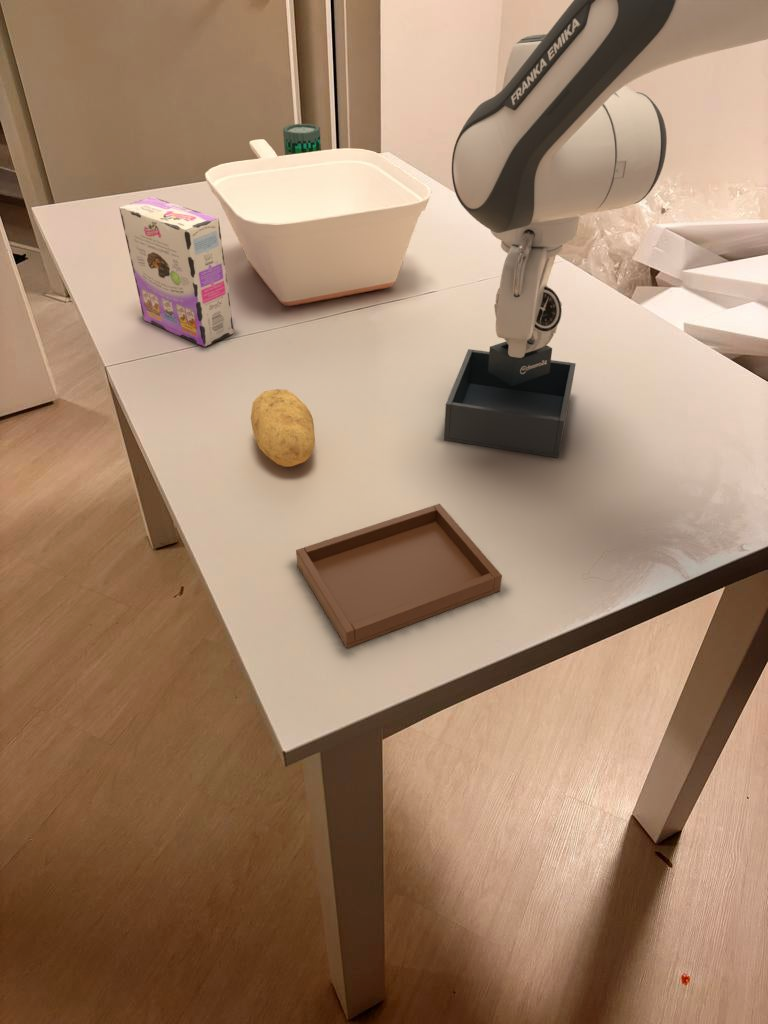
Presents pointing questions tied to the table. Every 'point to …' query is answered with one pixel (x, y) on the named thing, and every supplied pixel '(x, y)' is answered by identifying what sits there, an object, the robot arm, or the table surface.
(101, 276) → the table surface
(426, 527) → the tray
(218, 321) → the candy box
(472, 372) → the bin
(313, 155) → the pot
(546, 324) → the watch
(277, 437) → the potato
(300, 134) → the can
